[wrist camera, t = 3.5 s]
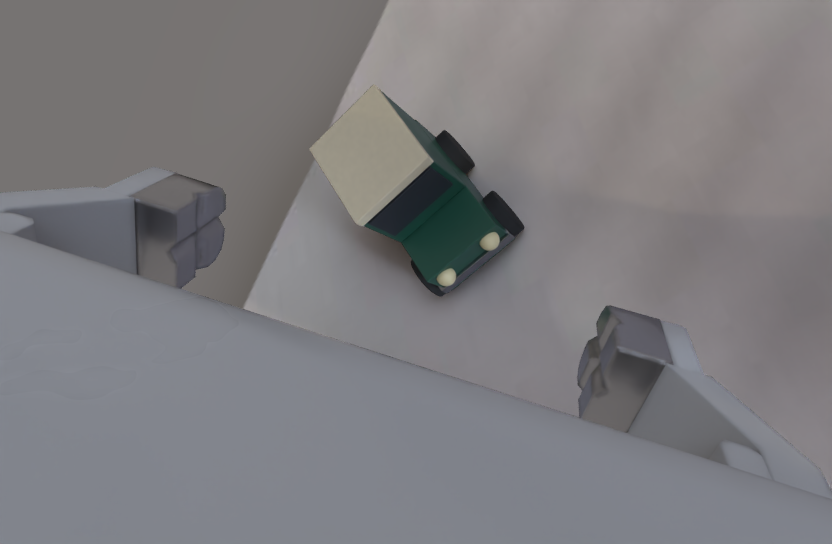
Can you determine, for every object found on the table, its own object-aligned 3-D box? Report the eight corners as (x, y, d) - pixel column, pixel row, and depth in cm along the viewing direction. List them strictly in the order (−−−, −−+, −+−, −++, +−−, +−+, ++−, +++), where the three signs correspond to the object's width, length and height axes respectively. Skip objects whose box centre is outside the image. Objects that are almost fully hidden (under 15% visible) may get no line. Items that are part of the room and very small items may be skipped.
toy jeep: (383, 201, 34) (295, 153, 27) (454, 136, 33) (380, 67, 26) (455, 309, 31) (376, 288, 24) (538, 242, 29) (481, 197, 22)
